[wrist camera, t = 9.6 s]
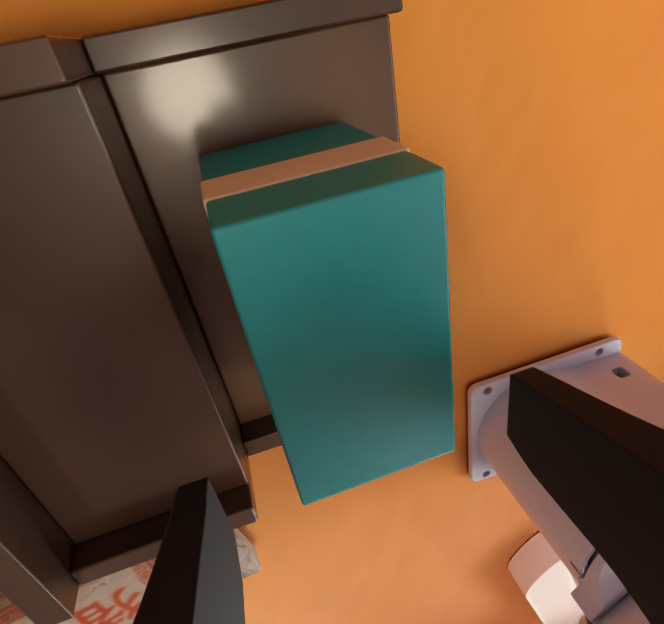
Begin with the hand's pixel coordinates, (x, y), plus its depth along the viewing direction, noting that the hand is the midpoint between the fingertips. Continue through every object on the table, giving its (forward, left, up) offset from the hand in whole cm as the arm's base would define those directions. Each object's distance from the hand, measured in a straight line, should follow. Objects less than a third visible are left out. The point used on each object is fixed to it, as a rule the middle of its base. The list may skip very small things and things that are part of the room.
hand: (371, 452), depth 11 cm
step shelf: (+3, -2, -10) cm, 11 cm away
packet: (0, -2, -7) cm, 8 cm away
